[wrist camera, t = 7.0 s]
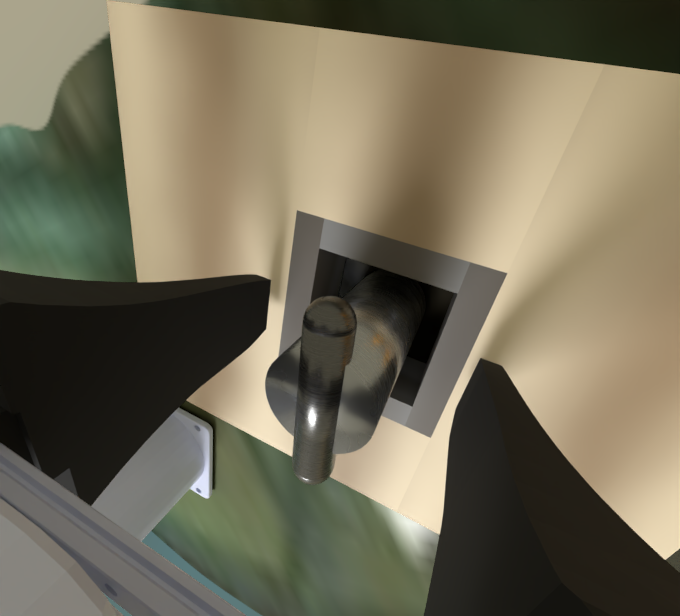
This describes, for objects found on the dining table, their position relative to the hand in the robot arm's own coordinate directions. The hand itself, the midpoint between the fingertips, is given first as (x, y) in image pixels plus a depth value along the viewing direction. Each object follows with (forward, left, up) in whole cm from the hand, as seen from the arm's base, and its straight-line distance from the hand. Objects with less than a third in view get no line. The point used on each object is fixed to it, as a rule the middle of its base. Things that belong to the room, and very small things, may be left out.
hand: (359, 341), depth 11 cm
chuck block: (0, 0, -4) cm, 4 cm away
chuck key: (0, 0, -4) cm, 4 cm away
